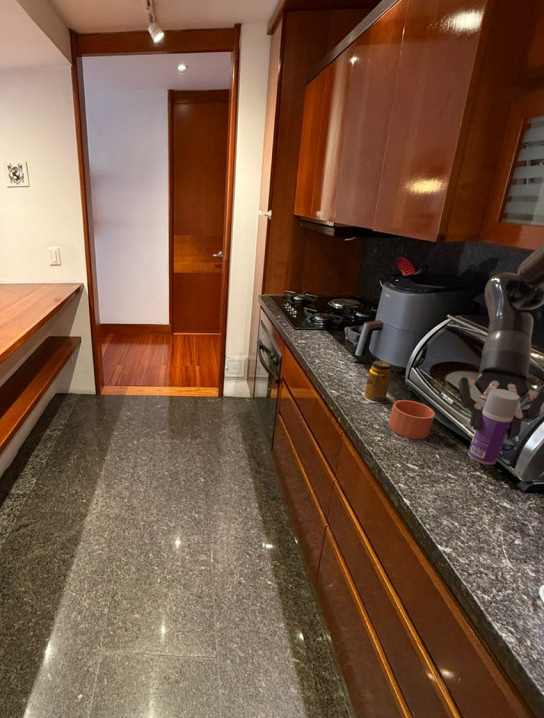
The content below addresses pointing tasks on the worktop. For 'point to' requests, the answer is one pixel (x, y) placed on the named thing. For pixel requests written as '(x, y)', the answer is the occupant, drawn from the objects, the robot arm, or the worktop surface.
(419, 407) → the holder
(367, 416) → the worktop surface
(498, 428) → the container
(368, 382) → the condiment
